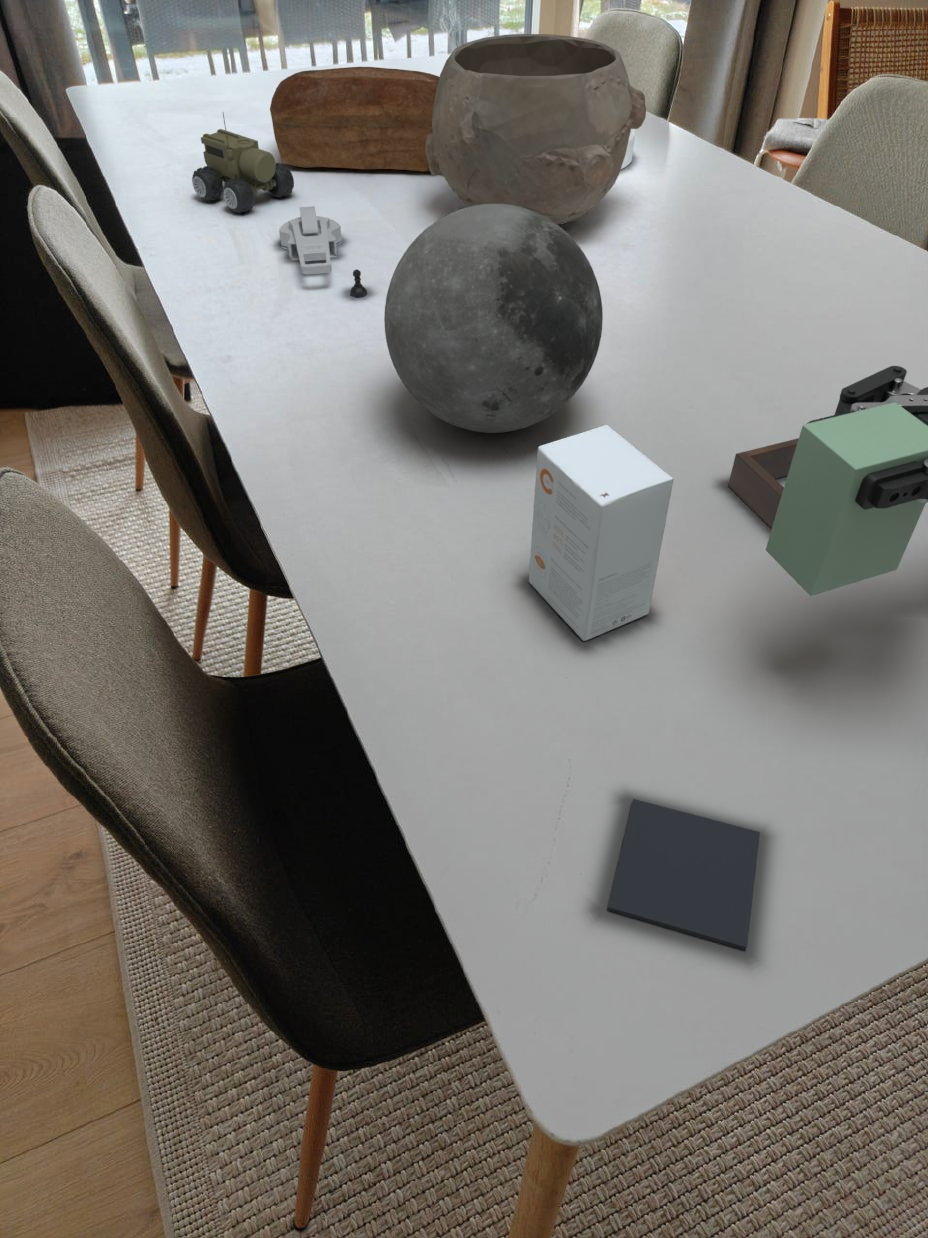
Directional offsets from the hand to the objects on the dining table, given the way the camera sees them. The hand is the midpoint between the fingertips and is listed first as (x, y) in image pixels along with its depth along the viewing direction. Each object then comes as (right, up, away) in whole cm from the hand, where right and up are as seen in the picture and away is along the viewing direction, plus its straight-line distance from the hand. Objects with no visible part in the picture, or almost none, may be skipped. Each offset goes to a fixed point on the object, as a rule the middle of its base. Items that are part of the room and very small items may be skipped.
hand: (832, 466), depth 56 cm
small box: (-12, -8, +18) cm, 23 cm away
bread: (-37, +62, +89) cm, 114 cm away
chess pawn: (-35, +30, +56) cm, 73 cm away
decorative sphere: (-20, +11, +37) cm, 43 cm away
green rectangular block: (+2, -5, +6) cm, 9 cm away
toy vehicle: (-54, +51, +78) cm, 107 cm away
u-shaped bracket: (+8, +2, +27) cm, 29 cm away
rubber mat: (-9, -25, 0) cm, 26 cm away
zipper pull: (-41, +36, +63) cm, 84 cm away
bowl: (-14, +46, +73) cm, 88 cm away
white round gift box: (-6, +63, +90) cm, 110 cm away
